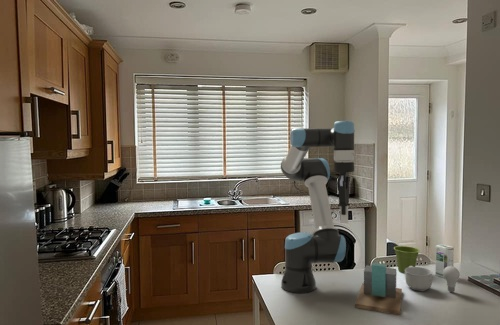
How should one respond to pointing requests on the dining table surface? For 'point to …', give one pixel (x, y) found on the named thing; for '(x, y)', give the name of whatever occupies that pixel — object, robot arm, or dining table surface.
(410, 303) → the dining table surface
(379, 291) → the teal rectangular block
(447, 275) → the lightbulb
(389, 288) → the grey rectangular block
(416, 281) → the teacup
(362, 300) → the base board
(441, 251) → the syrup box
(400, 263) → the plant pot
